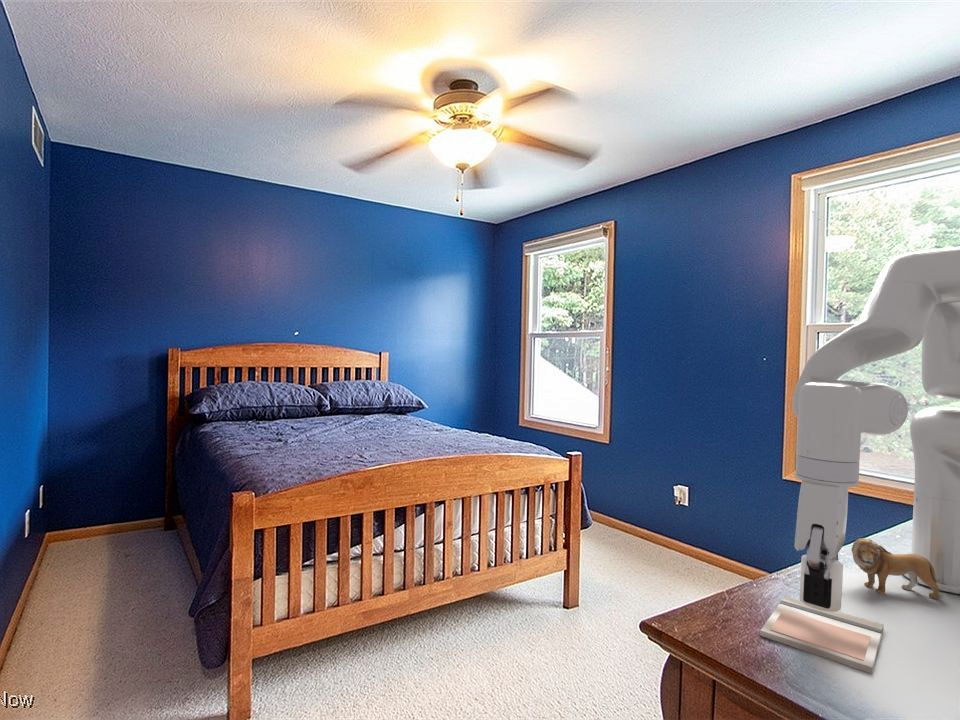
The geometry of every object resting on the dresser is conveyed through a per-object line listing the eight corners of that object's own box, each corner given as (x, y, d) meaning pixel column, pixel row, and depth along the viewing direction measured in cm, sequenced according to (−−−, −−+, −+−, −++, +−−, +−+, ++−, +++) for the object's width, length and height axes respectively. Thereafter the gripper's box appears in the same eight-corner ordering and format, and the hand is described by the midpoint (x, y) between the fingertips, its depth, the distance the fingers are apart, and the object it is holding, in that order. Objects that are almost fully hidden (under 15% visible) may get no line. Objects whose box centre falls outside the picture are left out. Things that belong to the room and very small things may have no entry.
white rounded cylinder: (803, 591, 80) (805, 551, 80) (843, 603, 77) (845, 561, 77) (796, 603, 76) (798, 560, 76) (838, 615, 73) (840, 571, 73)
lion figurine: (861, 596, 91) (864, 543, 91) (842, 582, 96) (844, 533, 96) (952, 600, 90) (954, 547, 90) (927, 586, 96) (929, 536, 95)
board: (784, 600, 88) (785, 595, 88) (883, 629, 80) (883, 623, 80) (760, 635, 77) (760, 629, 77) (871, 673, 69) (872, 666, 69)
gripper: (808, 458, 85) (802, 573, 85) (782, 474, 72) (776, 609, 72) (866, 466, 80) (860, 588, 80) (849, 485, 67) (842, 629, 68)
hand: (820, 596), depth 76 cm, fingers closed on white rounded cylinder, 4 cm apart
